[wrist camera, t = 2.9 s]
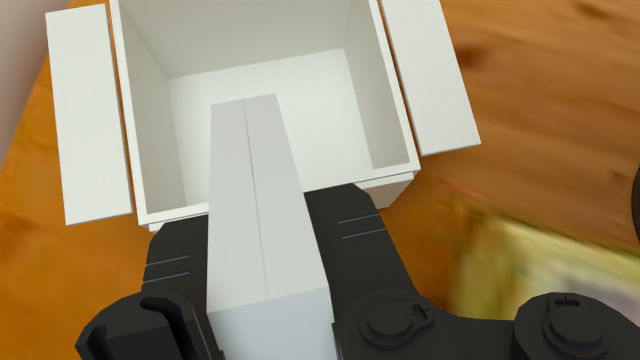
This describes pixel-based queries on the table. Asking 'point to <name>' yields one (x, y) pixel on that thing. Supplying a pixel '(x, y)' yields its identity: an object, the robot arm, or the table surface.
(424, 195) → the table surface
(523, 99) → the table surface
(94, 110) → the carton
